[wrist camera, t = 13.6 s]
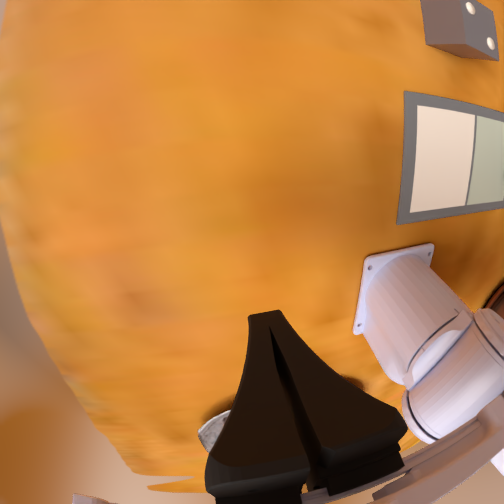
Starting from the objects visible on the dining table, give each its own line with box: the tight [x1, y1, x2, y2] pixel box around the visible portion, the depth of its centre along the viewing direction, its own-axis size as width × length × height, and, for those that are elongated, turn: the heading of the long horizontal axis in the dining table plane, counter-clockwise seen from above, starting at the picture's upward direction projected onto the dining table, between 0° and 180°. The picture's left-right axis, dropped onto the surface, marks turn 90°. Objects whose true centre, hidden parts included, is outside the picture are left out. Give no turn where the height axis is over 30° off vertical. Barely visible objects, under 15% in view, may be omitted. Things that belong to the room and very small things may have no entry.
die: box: [420, 0, 499, 61], centre depth 11 cm, size 4×4×5 cm
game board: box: [396, 91, 504, 225], centre depth 20 cm, size 11×26×1 cm, turn 96°
